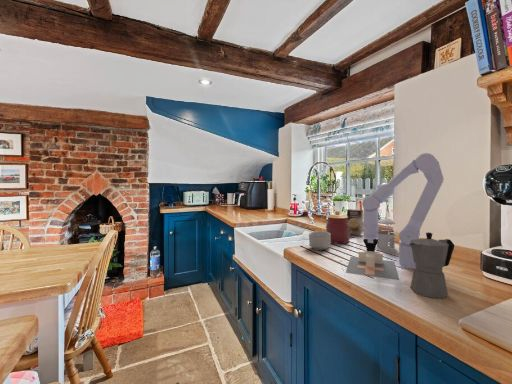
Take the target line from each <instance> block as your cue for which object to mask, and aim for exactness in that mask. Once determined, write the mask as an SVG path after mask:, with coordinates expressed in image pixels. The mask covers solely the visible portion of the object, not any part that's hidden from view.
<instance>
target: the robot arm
mask: <svg viewBox="0 0 512 384" xmlns="http://www.w3.org/2000/svg"><path fill="white" fill-rule="evenodd" d="M419 171H421V172H422V173H423V176H424V177H425V179H426V180H427V182H426V183H425V186H424V188H423V191H422V192H421V195H420V197H419V199H418V201H417V203H416V205H415V207H414V209H413V211H412V214H411V216H410V218H409V219H408V222H407V224H406V225H405V226H403V228H402V229H401V231H399V235H398V238H399V239H400V240H399V241H398V260H396V261H397V265H398V267H399V268H405V269H413V270H414V269H415V268H416V263H415V262H414V260H413V254H412V247H411V246H409V244H410V243H411V240H415V239H420V236H421V232H420V231H421V228H422V226H423V223H424V221H425V219H426V217H427V216H428V213H429V211H430V209H431V207H432V205H433V203H434V202H435V199H436V197H437V195H438V193H439V191H440V189H441V187H442V185H443V183H444V175H443V172H442V168H441V165H440V162H439V161H438V159H437V158H436V157H435V156H434V155H433V154H431V153H428V152H424V153H421V154H419V155H417V157H416V158H415V159H414V158H413V160H411V161H410V162H409V163H407V164H406V165H405V166H404V167H403V168H402V169H401V170H400V171H398V172H397V174H395V175H394V176H393V177H392V178H391V179H390V180H389V181H388V182H387V183H386V182H385V183H382V184H378V185H377V188H375V189H374V191H372V193H371V192H369V193H368V196H366V197H364V198H363V200H362V203H361V204H362V207H363V234H361V236H360V237H363V243H364V245H365V249H366V251H373V252H376V251H375V250H376V249H375V248H376V247H377V243H378V237H379V235H378V232H379V231H378V229H379V223H378V221H379V213H378V212H379V209H378V208H380V205H381V204H383V203H385V202H384V201H385V200H388V199H389V198H390V197H391V196H392V195H393V194H394V193H395V188H396V187H398V186H399V185H400V184H401V183H403V181H405V180H406V179H407V178H408V177H409V176H411V175H414V174H418V173H419Z"/></svg>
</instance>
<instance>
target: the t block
mask: <svg viewBox="0 0 512 384" xmlns="http://www.w3.org/2000/svg"><path fill="white" fill-rule="evenodd" d="M358 257H359V261H360V262H366V267H373V268H375V263H377V264H383V260H384V251H383V252H382V251H375V252H373V251H367V250H364V249H363V250H361V249H358Z"/></svg>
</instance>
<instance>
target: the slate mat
mask: <svg viewBox="0 0 512 384" xmlns="http://www.w3.org/2000/svg"><path fill="white" fill-rule="evenodd" d="M345 273H346V274H354V275H360V276H367V277H374V278H381V279H388V280H395V281H400V277H399V274H398V270H397V266H396V262H395V261H394V260H385V259H383V264H377V263H375V268H373V267H366V262H360V261H359V256H350V258H349V261H348V264H347V268H346V270H345Z"/></svg>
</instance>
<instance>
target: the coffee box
mask: <svg viewBox="0 0 512 384" xmlns="http://www.w3.org/2000/svg"><path fill="white" fill-rule="evenodd" d="M346 216H347V217H348V218H347V219H348V220H349V221H350V222H349V227H350V228H349V234H354V235H353V236H358V235H361V234H363V233H364V209H353V208H352V209H351V208H349V209H347V210H346Z"/></svg>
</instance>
